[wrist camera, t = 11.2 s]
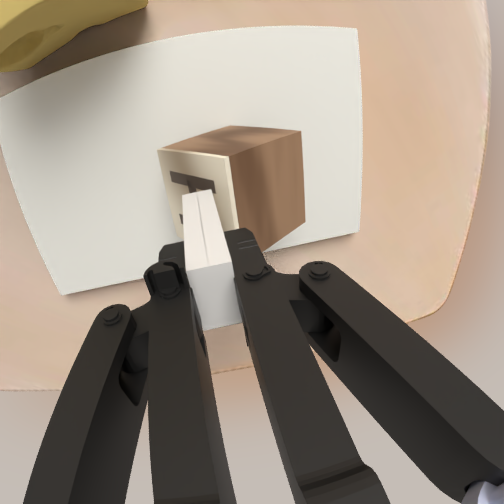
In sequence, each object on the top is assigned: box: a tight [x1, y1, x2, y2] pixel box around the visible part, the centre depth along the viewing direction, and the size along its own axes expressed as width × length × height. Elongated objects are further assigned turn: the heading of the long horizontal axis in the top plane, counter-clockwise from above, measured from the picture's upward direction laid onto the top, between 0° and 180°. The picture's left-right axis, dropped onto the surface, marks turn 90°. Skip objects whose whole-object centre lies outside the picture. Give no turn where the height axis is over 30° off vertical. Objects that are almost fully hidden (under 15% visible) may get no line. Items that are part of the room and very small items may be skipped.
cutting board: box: [0, 26, 363, 295], centre depth 22 cm, size 28×18×1 cm, turn 97°
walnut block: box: [157, 125, 306, 252], centre depth 19 cm, size 6×6×6 cm
